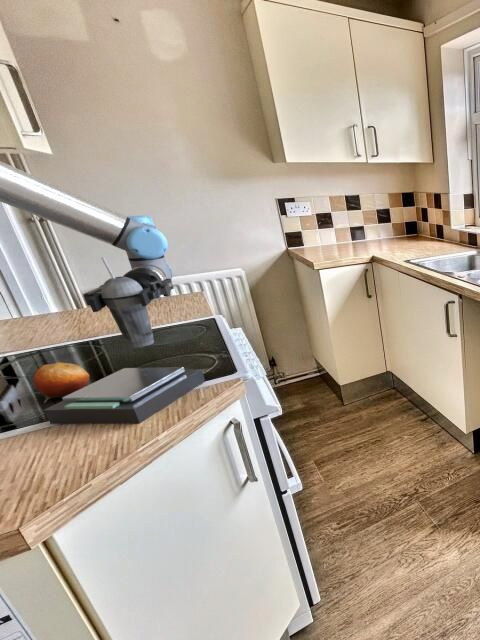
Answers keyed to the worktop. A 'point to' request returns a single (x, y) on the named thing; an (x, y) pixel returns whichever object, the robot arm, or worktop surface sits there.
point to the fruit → (60, 379)
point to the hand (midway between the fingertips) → (118, 302)
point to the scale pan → (124, 385)
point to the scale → (125, 404)
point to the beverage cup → (127, 309)
